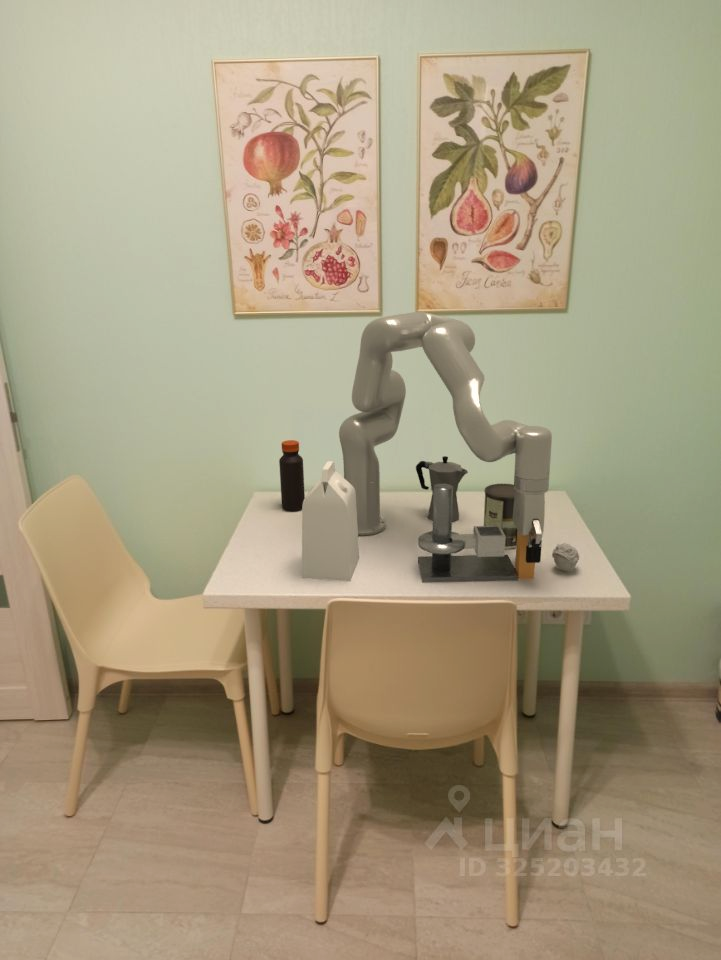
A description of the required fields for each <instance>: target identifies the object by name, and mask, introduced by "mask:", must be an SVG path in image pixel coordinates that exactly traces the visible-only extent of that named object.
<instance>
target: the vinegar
mask: <svg viewBox="0 0 721 960" xmlns="http://www.w3.org/2000/svg"><path fill="white" fill-rule="evenodd" d="M299 452H300V442H299V441H298V440H293V439H292V440H291V439H290V440H284V441H281V453H282V455H281V457H279V460H278V461H279V462H278V463H279V464H278V465H279V477H280V494H281V495H280V496H281V497H280V498H281V499H280V500H281V508H282V510H284V511H286V512H300V511H302V505H303V501H304V499H305V497H306V495H305V477H304V476H305V475H304V473H305V472H304V459H303V457H302V456H301V455H300V454H299Z"/></svg>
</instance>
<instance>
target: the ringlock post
mask: <svg viewBox="0 0 721 960" xmlns="http://www.w3.org/2000/svg"><path fill="white" fill-rule="evenodd" d="M452 505H453V486H452V485H449V484H436V485H434V487H433V521H432V530H431V531H426V532H423V533H422V534H421V535H419V536H418V538H417V545H418V547H419V548H420V549H421V551H422V550H423V551H424V552H427V553H430V554H431V555H429V556H428V555H427V556H426V555H425V556H424V555H423V556H417V565H418V568H419V572H420V573H419V575H420V578H421V582H422V583H458V582H462V583H463V582H499V581H500V582H501V581H505V582H507V581H519V579H518V574H517V572H516V570H515V565H514V564H513V562H512V560H511V558H510V556H509V554H505V552H506V551H505V550H506V549H505V539H506V536H505V534H504V532H503V531H502V529H501V527H500V526H484V525H473V533H465V534H464V533H463V534H461V533H459V532H458V533H457V532H455V531H452V530H453V529H452V528H453V523H452ZM463 550H474V552H475V554H473V555H472V554H471V555H467V554H466V555H465V554H464V555H453V554H456V553H459V552H461V551H463Z"/></svg>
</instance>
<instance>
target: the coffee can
mask: <svg viewBox="0 0 721 960" xmlns="http://www.w3.org/2000/svg"><path fill="white" fill-rule="evenodd" d="M514 498H515V489H514V483H513V484H511V483H493V484H490V485H488V486H485V488H484V505H483V506H484V511H483V526H500V527H501V529H502V531H503V532H504V534H505V536H506V539H505V550H512V549H516V543H515V540H516V526H515V525H514V523H513V508H514Z"/></svg>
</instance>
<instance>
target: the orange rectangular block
mask: <svg viewBox="0 0 721 960" xmlns="http://www.w3.org/2000/svg"><path fill="white" fill-rule="evenodd" d="M529 533H534V531H530V532H529ZM532 539H534V536H533V537H531V541H532ZM526 546H528V541H527V535H525V536H522V535H521V534H520V533H519V531H518V530H517V544H516V548H515V559H514V561H515V562H514V568H515V570H516V572H517V574H518V580H530V579H531V580H532V579H534V578H535V569H536V568H535V567H536V563H527V562H526Z"/></svg>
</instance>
